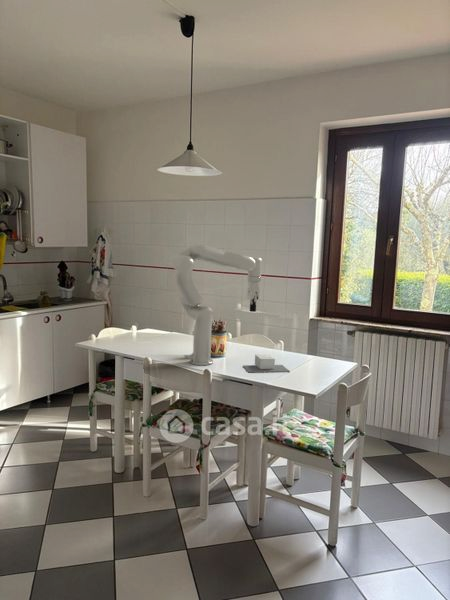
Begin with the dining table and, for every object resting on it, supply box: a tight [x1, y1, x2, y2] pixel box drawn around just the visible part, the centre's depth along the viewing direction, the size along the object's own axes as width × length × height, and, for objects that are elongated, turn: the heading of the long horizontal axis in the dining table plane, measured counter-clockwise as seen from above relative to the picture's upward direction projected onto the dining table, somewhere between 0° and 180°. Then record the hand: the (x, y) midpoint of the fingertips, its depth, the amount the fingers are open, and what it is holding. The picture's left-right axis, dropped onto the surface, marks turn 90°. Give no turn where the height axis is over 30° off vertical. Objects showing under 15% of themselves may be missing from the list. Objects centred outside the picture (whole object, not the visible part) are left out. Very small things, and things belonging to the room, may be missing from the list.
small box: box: [254, 353, 276, 369], centre depth 238 cm, size 8×6×10 cm
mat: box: [242, 364, 291, 374], centre depth 235 cm, size 22×12×1 cm, turn 102°
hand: (252, 311), depth 255 cm, fingers closed
